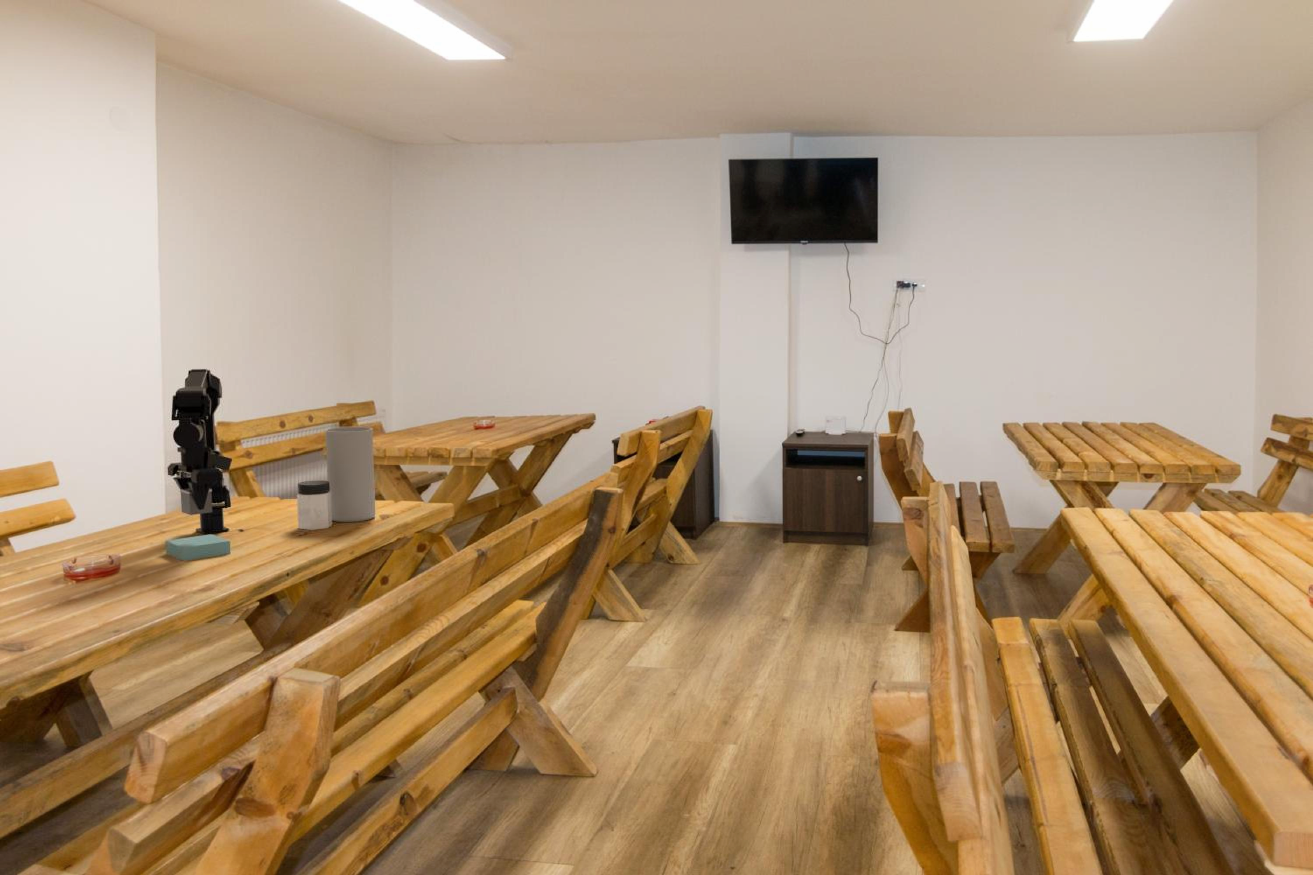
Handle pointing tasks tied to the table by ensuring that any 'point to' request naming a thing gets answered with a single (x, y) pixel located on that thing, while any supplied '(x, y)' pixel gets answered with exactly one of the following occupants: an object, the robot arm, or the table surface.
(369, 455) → the cylinder vase
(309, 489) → the jar
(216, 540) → the teal box
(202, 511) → the tin
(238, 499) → the table surface
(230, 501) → the robot arm
